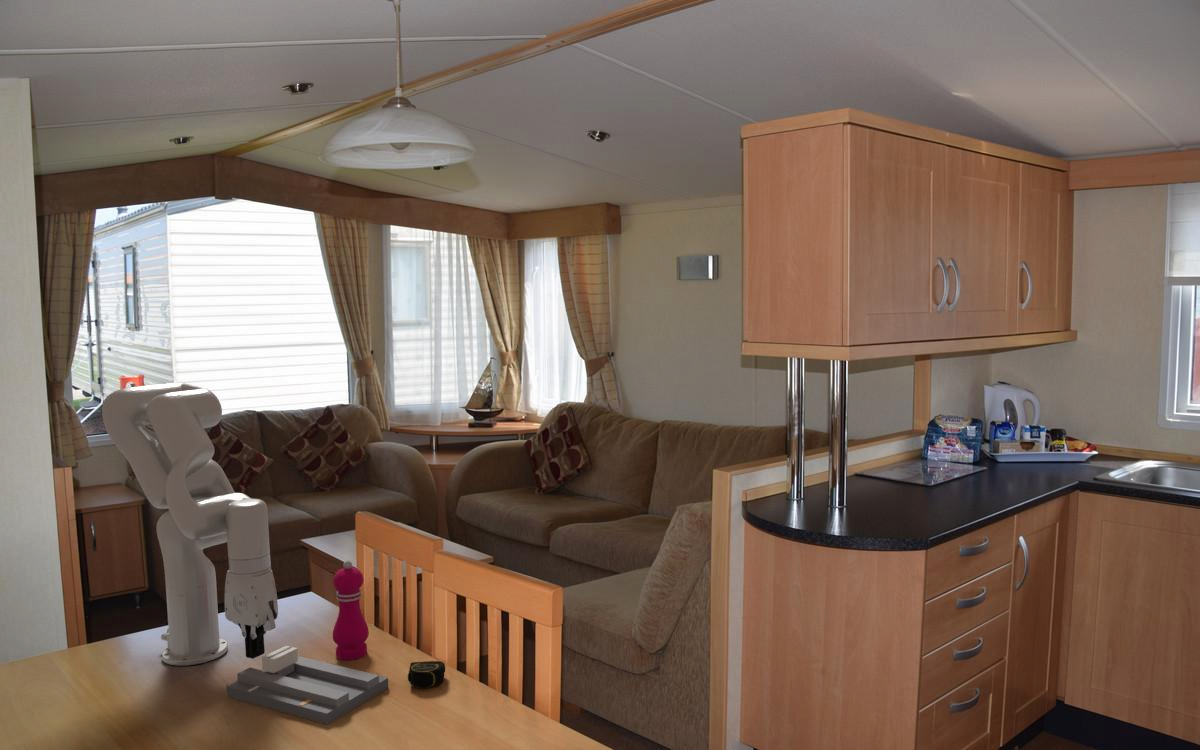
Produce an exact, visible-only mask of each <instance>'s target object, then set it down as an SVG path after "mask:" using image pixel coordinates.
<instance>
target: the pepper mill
mask: <svg viewBox="0 0 1200 750" xmlns="http://www.w3.org/2000/svg"><path fill="white" fill-rule="evenodd" d="M342 567H343V568H340V569H338V570H337V571H336V572H335V574H334V575H333V579H332V580H333V581H332V584H333V587H334V589H336V590H337V591H336V594H335V595H336V600H337V601H338V608H339V609H338V614H337V615H338V616H337V619H336V621H335V624H334V626H333V630H332V641H333V642H334V643H335V644H336V645H337V646H336V647H335V657H336V659H338V660H341V661H353V660H354V661H355V660H358V659H362V658H363V657H365V656H367V654H368V644H367V643H366V641H367V640H368V638H369V635H370V634H369V633H370V632H369V627H368V622H367V621H366V619H365V617H364V616H363V613H362V610H361V605H360V601H361V598H362V590H361V587H362V586H363V584H364V576H363V573H362V571H361V570H360V569H358V568H357V567H353V562H352V561H350V560H345V561H344V562H343V565H342Z"/></svg>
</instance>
